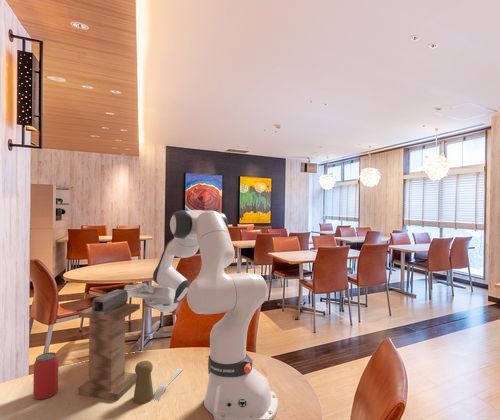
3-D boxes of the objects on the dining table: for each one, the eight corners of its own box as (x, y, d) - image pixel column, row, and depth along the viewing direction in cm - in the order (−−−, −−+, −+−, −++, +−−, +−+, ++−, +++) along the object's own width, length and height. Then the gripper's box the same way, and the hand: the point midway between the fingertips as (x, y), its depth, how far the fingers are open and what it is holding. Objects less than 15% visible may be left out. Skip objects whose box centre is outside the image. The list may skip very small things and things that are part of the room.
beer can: (28, 397, 97) (28, 358, 97) (48, 386, 103) (49, 350, 103) (42, 402, 95) (43, 362, 95) (63, 390, 101) (63, 353, 101)
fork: (184, 375, 116) (185, 367, 116) (158, 403, 95) (159, 393, 96) (177, 374, 116) (178, 367, 116) (150, 402, 96) (150, 392, 96)
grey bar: (148, 289, 124) (148, 282, 124) (112, 305, 102) (113, 298, 102) (142, 288, 124) (142, 282, 124) (106, 305, 103) (106, 297, 103)
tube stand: (139, 379, 108) (140, 291, 108) (117, 400, 96) (118, 300, 96) (103, 374, 110) (104, 288, 110) (78, 394, 99) (79, 297, 99)
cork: (147, 405, 94) (147, 368, 94) (129, 402, 95) (129, 366, 95) (157, 393, 100) (157, 359, 100) (140, 391, 101) (140, 357, 101)
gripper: (135, 287, 136) (118, 277, 124) (179, 290, 132) (166, 280, 120) (131, 302, 133) (113, 293, 121) (176, 305, 129) (162, 296, 117)
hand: (140, 286), depth 120 cm, fingers closed on grey bar, 2 cm apart
